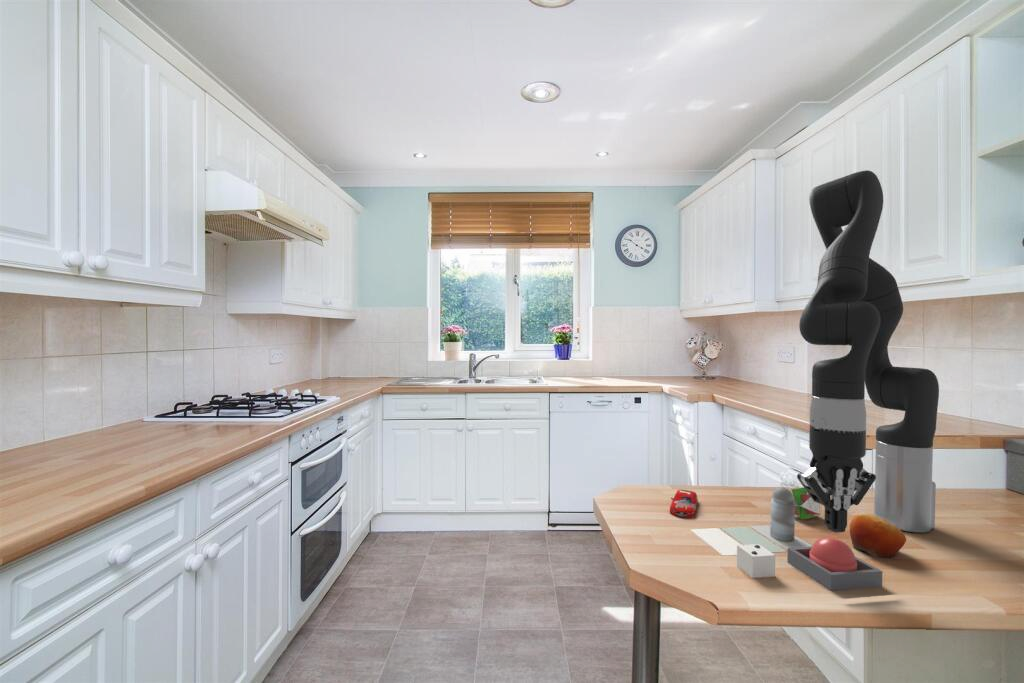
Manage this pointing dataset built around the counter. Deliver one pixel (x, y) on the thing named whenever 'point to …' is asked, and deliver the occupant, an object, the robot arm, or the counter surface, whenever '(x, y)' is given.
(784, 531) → the ridged rounded cylinder
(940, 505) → the counter surface
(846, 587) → the gray square tray
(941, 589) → the counter surface
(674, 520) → the counter surface
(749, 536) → the game board
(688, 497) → the race car
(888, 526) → the fruit
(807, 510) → the geometric puzzle
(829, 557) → the dome
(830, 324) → the robot arm
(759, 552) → the die
